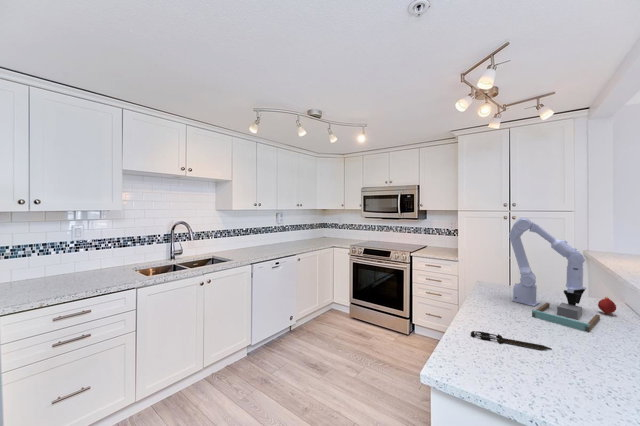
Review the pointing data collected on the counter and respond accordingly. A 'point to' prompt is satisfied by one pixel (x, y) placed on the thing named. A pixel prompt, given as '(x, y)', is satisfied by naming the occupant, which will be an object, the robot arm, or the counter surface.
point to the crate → (569, 311)
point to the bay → (564, 319)
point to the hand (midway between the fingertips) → (574, 304)
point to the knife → (508, 340)
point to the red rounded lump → (607, 305)
